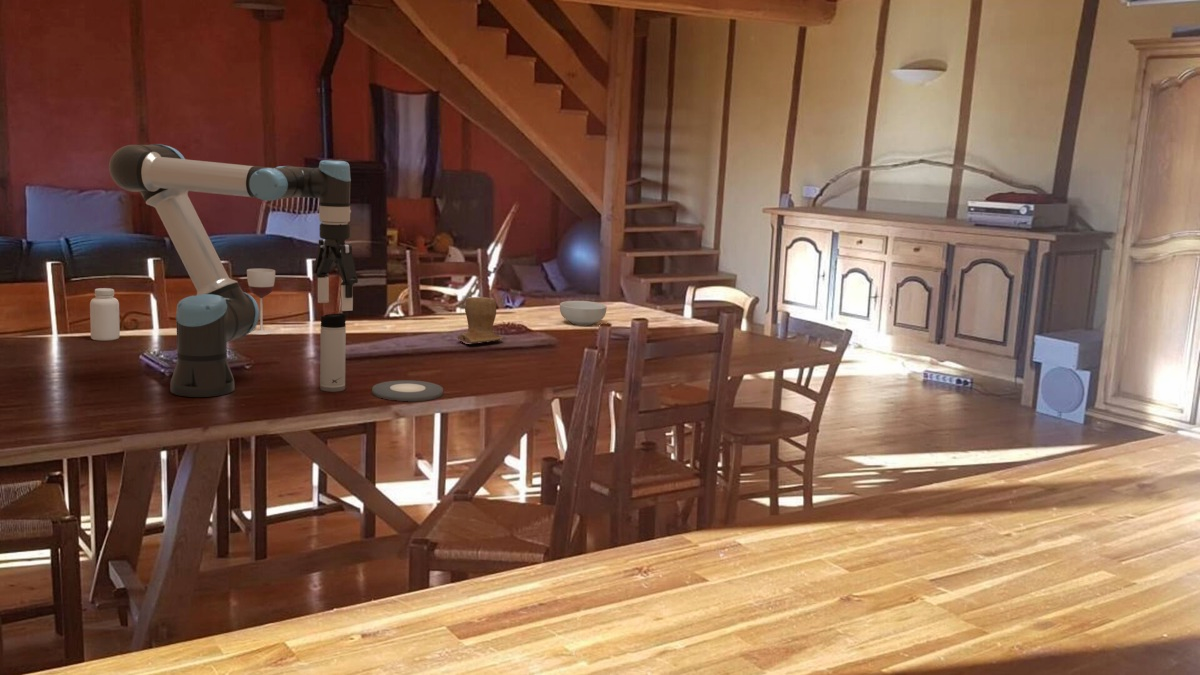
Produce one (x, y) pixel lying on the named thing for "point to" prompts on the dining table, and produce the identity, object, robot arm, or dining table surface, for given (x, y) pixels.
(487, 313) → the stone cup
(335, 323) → the travel mug
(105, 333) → the pill bottle
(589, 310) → the cereal bowl
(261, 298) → the wineglass
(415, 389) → the grey flat disc
